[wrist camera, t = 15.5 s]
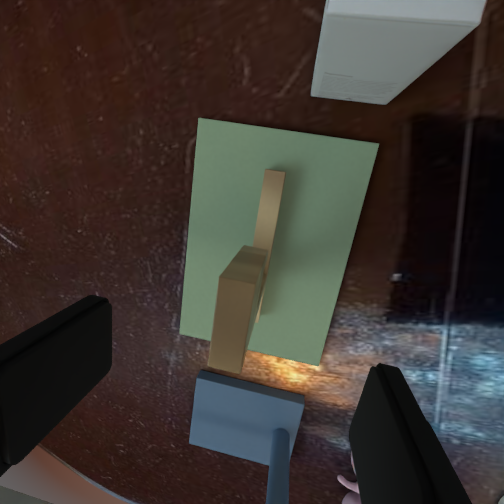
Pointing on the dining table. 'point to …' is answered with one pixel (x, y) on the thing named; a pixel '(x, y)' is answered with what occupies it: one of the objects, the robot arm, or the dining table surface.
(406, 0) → the small box
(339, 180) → the mat
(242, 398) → the rail stand
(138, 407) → the dining table surface
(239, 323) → the hanger
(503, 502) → the milk bottle
